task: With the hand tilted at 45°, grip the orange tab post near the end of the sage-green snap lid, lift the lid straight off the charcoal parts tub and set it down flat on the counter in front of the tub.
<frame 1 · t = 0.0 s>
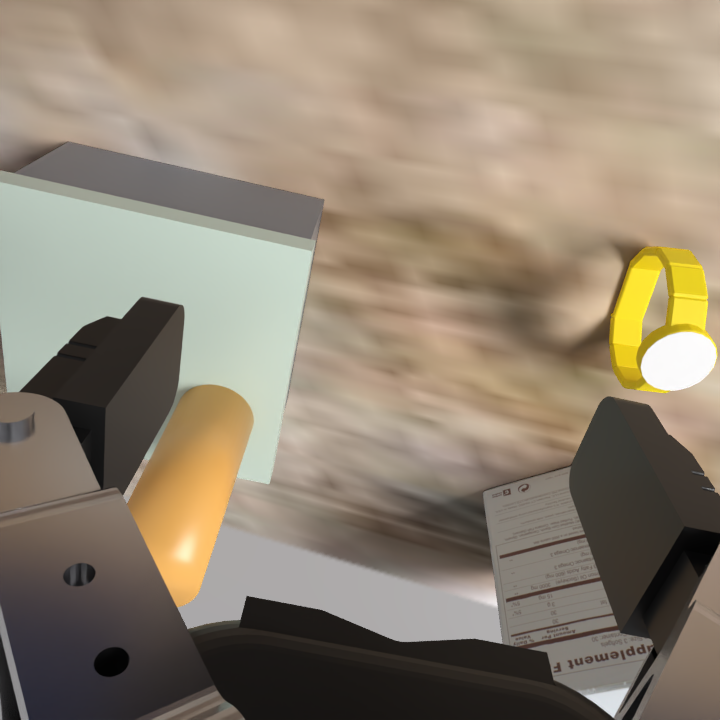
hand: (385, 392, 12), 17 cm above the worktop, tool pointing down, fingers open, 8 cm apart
lid: (160, 328, 27), point 4 cm above the worktop, touching parts tub
supplement box: (561, 512, 37), on the worktop
watch: (633, 289, 30), on the worktop
parts tub: (189, 284, 31), on the worktop
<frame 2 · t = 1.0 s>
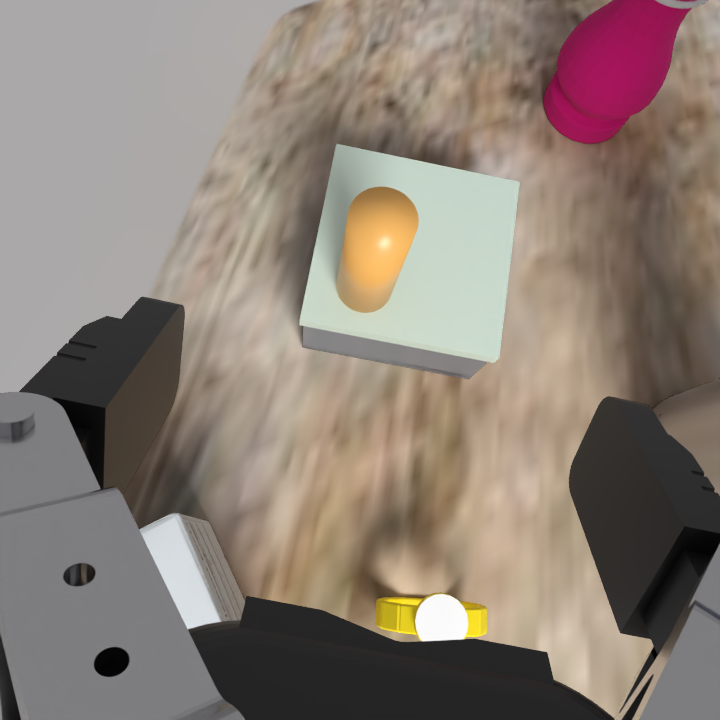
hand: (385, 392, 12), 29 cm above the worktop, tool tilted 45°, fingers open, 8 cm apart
lid: (409, 260, 40), point 4 cm above the worktop, touching parts tub
supplement box: (178, 605, 38), on the worktop
watch: (421, 610, 39), on the worktop
pepper mill: (582, 109, 49), on the worktop
parts tub: (399, 285, 44), on the worktop
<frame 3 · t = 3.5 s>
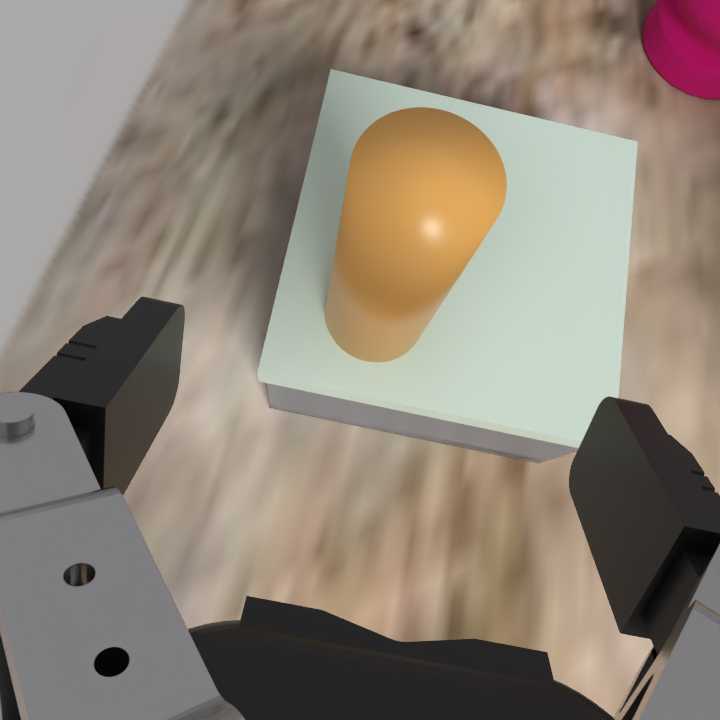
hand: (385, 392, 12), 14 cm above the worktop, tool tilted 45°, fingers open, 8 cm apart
lid: (451, 268, 24), point 4 cm above the worktop, touching parts tub
pepper mill: (697, 51, 33), on the worktop
parts tub: (426, 308, 28), on the worktop
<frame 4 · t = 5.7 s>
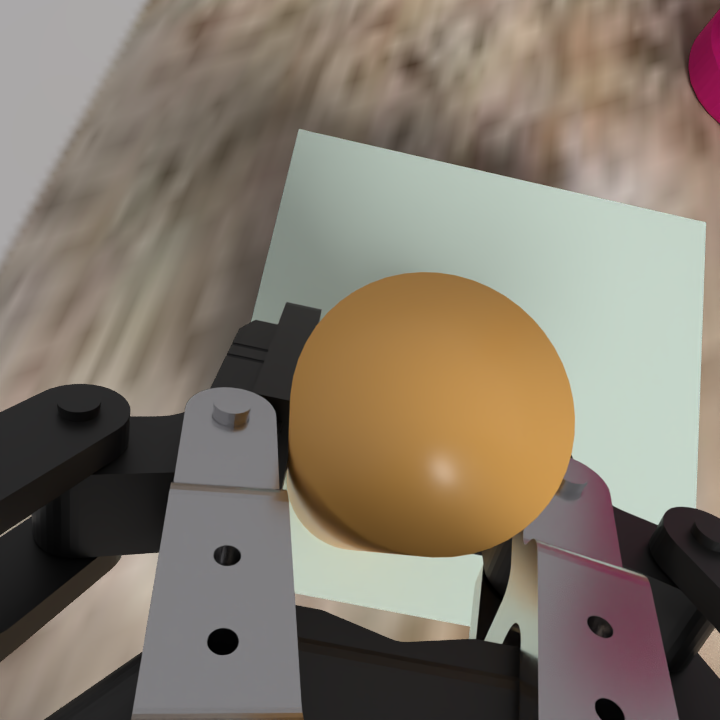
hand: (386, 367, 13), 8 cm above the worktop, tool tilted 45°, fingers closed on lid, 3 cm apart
lid: (459, 392, 18), point 4 cm above the worktop, touching gripper, parts tub
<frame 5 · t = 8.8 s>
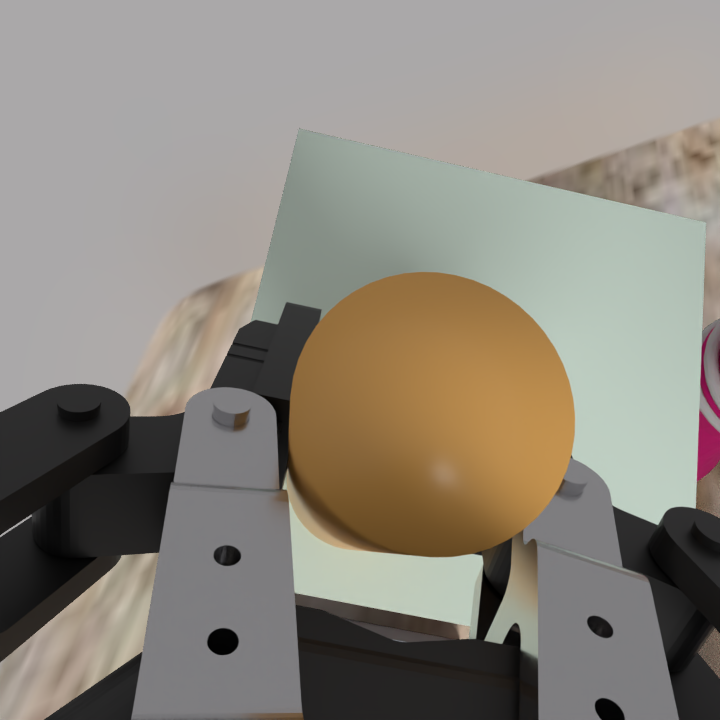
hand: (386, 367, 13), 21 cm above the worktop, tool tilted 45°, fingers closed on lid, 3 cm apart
lid: (459, 392, 18), point 17 cm above the worktop, touching gripper
pepper mill: (596, 435, 36), on the worktop
when the fingers open (6 cm above the worktop, at t = 11.9 s): lid drops 2 cm, on the worktop.
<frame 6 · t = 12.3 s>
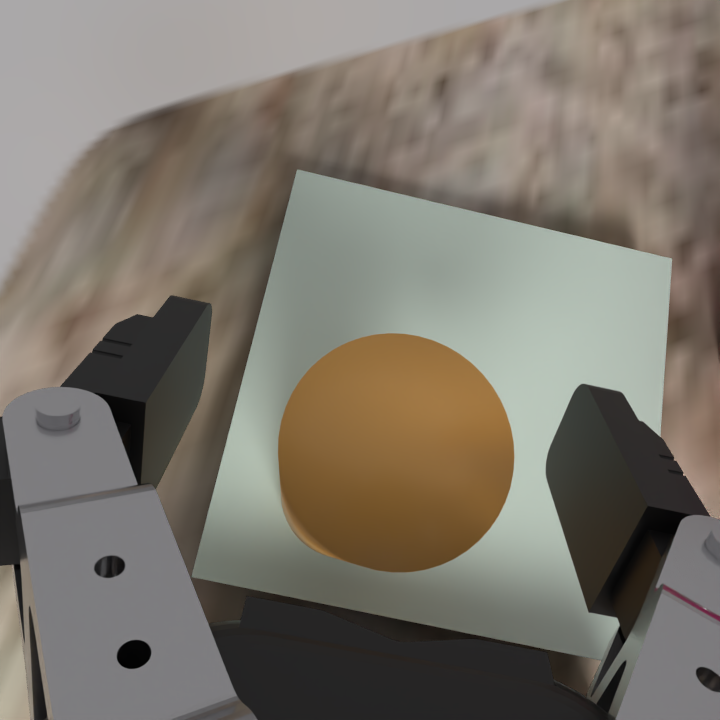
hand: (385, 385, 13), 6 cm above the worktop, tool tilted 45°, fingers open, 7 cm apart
lid: (442, 413, 19), on the worktop
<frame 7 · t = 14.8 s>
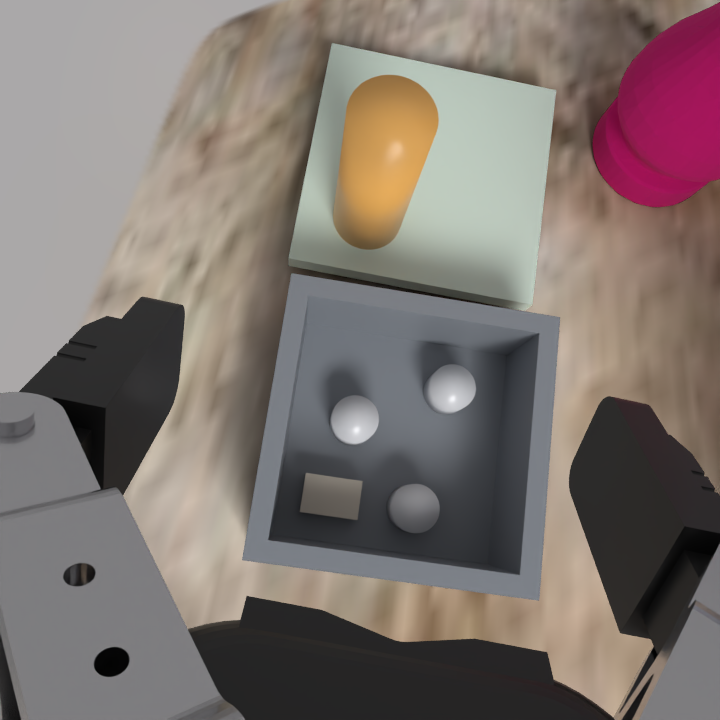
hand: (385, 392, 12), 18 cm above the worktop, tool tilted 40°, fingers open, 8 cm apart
lid: (422, 187, 33), on the worktop
pepper mill: (646, 155, 35), on the worktop
parts tub: (392, 442, 30), on the worktop
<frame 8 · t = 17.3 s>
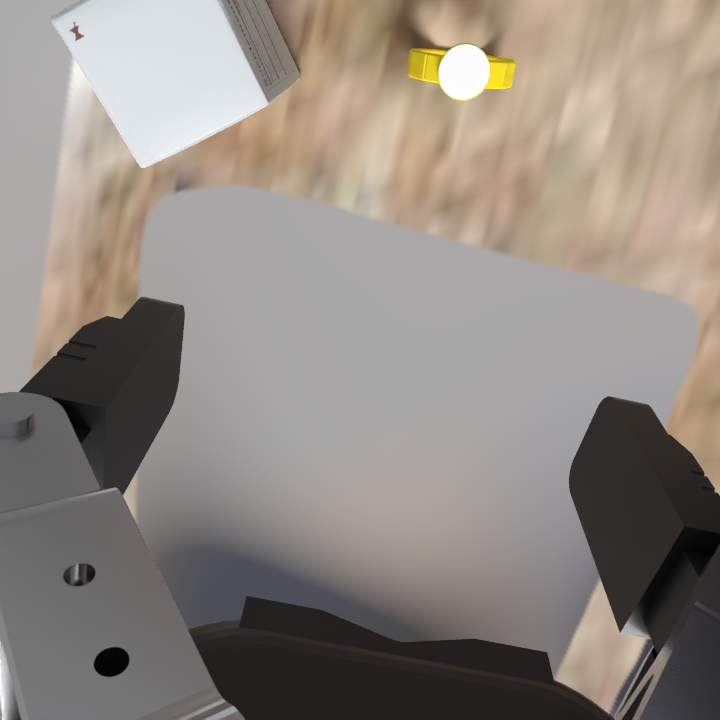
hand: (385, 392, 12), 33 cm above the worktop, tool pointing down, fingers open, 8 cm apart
supplement box: (226, 46, 40), on the worktop
watch: (456, 63, 40), on the worktop
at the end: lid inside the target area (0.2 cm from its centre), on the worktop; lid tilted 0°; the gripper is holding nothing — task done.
